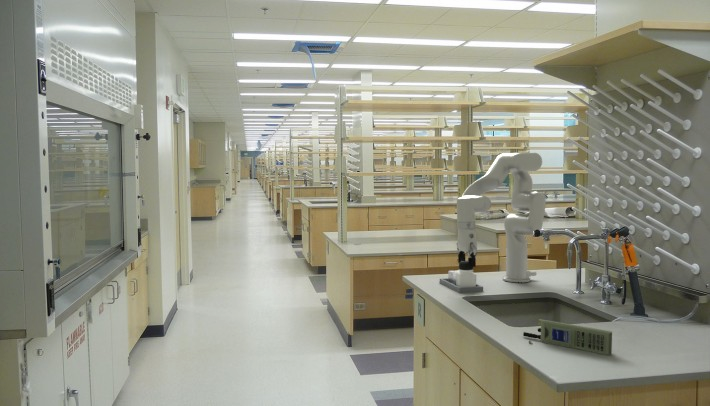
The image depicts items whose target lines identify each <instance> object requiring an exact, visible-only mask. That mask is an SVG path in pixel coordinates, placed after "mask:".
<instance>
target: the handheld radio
mask: <svg viewBox="0 0 710 406" xmlns="http://www.w3.org/2000/svg"><path fill="white" fill-rule="evenodd" d="M538 321H540V322H538V326H540V327H539V328H537V332H538V333H540V334H536V333H532V332H526V331H523V334H522V336H523V337H527V338H531V339H532V338H533V339H538V340H540V343H545V344H550V345H556V346H560V347H565V348H570V349H575V350H581V351H585V352H591V353H596V354H600V355H606V356H611V355H612V351H613V350H612V348H613V347H612V346H613V331H611V330H605V329H600V328H594V327H588V326H582V325H577V324H570V323H564V322H560V321H553V320H547V319H538Z"/></svg>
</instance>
